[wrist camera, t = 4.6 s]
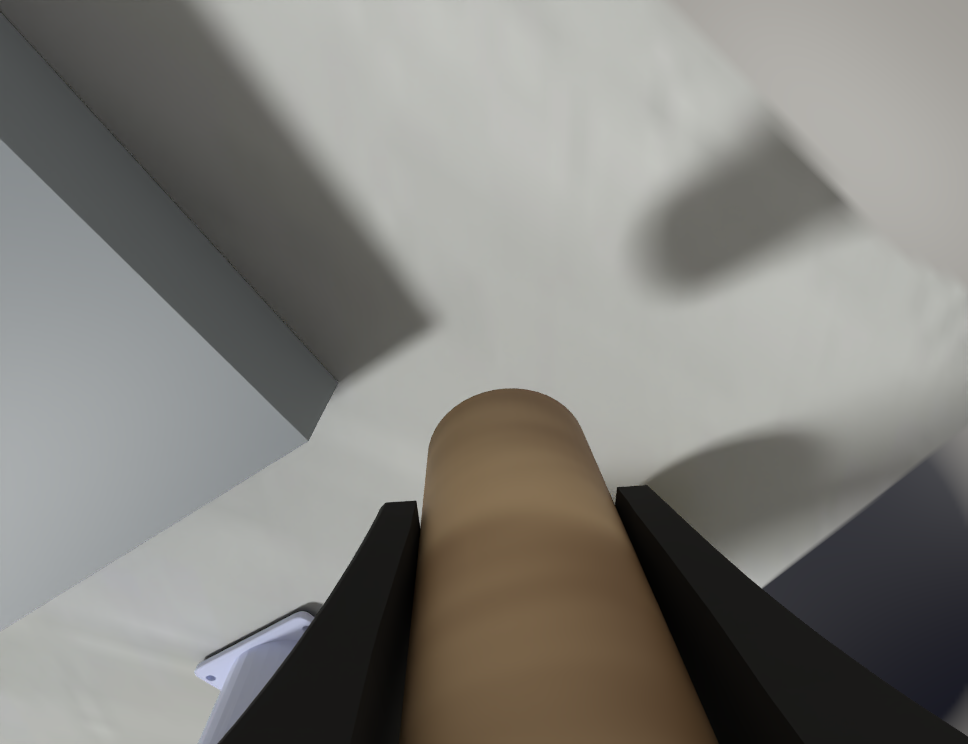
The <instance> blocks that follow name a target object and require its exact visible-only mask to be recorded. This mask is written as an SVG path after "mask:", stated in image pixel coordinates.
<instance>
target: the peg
mask: <svg viewBox="0 0 968 744" xmlns="http://www.w3.org/2000/svg"><path fill="white" fill-rule="evenodd" d="M399 744H719V743H718V741H717V738H716V736H715V734H714V731H713V729H712V727H711V725H710V722H709V720H708V718H707V715H706V713H705V711H704V708H703V706H702V704H701V702H700V699H699V697H698V695H697V692H696V690H695V688H694V686H693V683H692V681H691V679H690V676H689V674H688V672H687V669H686V667H685V665H684V663H683V660H682V658H681V656H680V653H679V651H678V649H677V647H676V644H675V642H674V640H673V637H672V635H671V633H670V631H669V628H668V626H667V624H666V621H665V619H664V617H663V614H662V612H661V610H660V608H659V605H658V603H657V601H656V598H655V596H654V594H653V592H652V589H651V587H650V585H649V582H648V580H647V578H646V575H645V573H644V571H643V569H642V566H641V564H640V562H639V559H638V557H637V555H636V553H635V550H634V548H633V546H632V543H631V541H630V539H629V537H628V534H627V532H626V530H625V527H624V525H623V523H622V520H621V518H620V516H619V514H618V511H617V509H616V507H615V504H614V502H613V500H612V498H611V495H610V493H609V491H608V488H607V486H606V484H605V481H604V479H603V477H602V475H601V472H600V470H599V468H598V465H597V463H596V461H595V459H594V456H593V454H592V452H591V449H590V447H589V445H588V443H587V440H586V438H585V436H584V433H583V431H582V429H581V427H580V425H579V423H578V421H577V420H576V418H575V417H574V416H573V414H572V413H571V412H570V411H569V410H568V409H567V408H566V407H565V406H563V405H562V404H561V403H559V402H558V401H556V400H554V399H553V398H551V397H549V396H547V395H544V394H541V393H539V392H535V391H531V390H525V389H498V390H492V391H488V392H484V393H481V394H478V395H475V396H473V397H471V398H469V399H467V400H465V401H463V402H461V403H460V404H458V405H457V406H455V407H454V408H453V409H452V410H451V411H450V412H448V413H447V414H446V415H445V417H444V418H443V419H442V420H441V421H440V423H439V424H438V426H437V427H436V429H435V431H434V433H433V435H432V437H431V440H430V444H429V449H428V458H427V468H426V478H425V488H424V498H423V508H422V518H421V528H420V538H419V548H418V558H417V568H416V578H415V587H414V597H413V607H412V617H411V627H410V637H409V647H408V657H407V667H406V677H405V687H404V697H403V707H402V717H401V727H400V737H399Z"/></svg>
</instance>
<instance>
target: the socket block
mask: <svg viewBox="0 0 968 744" xmlns="http://www.w3.org/2000/svg"><path fill="white" fill-rule="evenodd" d="M337 384H338V382H337V381H336V380H335V378H334V377H333V376H332V375H331V374H330V373H329V372H328V371H327V370H326V369H325V367H324V366H323V365H322V364H321V363H320V362H319V361H318V360H317V359H316V358H315V356H314V355H313V354H312V353H311V352H310V351H309V350H308V349H307V348H306V347H305V346H304V344H303V343H302V342H301V341H300V340H299V339H298V338H297V337H296V336H295V335H294V333H293V332H292V331H291V330H290V329H289V328H288V327H287V326H286V325H285V324H284V322H283V321H282V320H281V319H280V318H279V317H278V316H277V315H276V314H275V313H274V312H273V310H272V309H271V308H270V307H269V306H268V305H267V304H266V303H265V302H264V301H263V299H262V298H261V297H260V296H259V295H258V294H257V293H256V292H255V291H254V290H253V288H252V287H251V286H250V285H249V284H248V283H247V282H246V281H245V280H244V279H243V278H242V276H241V275H240V274H239V273H238V272H237V271H236V270H235V269H234V268H233V267H232V265H231V264H230V263H229V262H228V261H227V260H226V259H225V258H224V257H223V256H222V254H221V253H220V252H219V251H218V250H217V249H216V248H215V247H214V246H213V245H212V244H211V242H210V241H209V240H208V239H207V238H206V237H205V236H204V235H203V234H202V233H201V231H200V230H199V229H198V228H197V227H196V226H195V225H194V224H193V223H192V222H191V220H190V219H189V218H188V217H187V216H186V215H185V214H184V213H183V212H182V211H181V210H180V208H179V207H178V206H177V205H176V204H175V203H174V202H173V201H172V200H171V199H170V197H169V196H168V195H167V194H166V193H165V192H164V191H163V190H162V189H161V188H160V186H159V185H158V184H157V183H156V182H155V181H154V180H153V179H152V178H151V177H150V176H149V174H148V173H147V172H146V171H145V170H144V169H143V168H142V167H141V166H140V165H139V163H138V162H137V161H136V160H135V159H134V158H133V157H132V156H131V155H130V154H129V152H128V151H127V150H126V149H125V148H124V147H123V146H122V145H121V144H120V143H119V142H118V140H117V139H116V138H115V137H114V136H113V135H112V134H111V133H110V132H109V131H108V129H107V128H106V127H105V126H104V125H103V124H102V123H101V122H100V121H99V120H98V118H97V117H96V116H95V115H94V114H93V113H92V112H91V111H90V110H89V109H88V108H87V106H86V105H85V104H84V103H83V102H82V101H81V100H80V99H79V98H78V97H77V95H76V94H75V93H74V92H73V91H72V90H71V89H70V88H69V87H68V86H67V84H66V83H65V82H64V81H63V80H62V79H61V78H60V77H59V76H58V75H57V74H56V72H55V71H54V70H53V69H52V68H51V67H50V66H49V65H48V64H47V63H46V61H45V60H44V59H43V58H42V57H41V56H40V55H39V54H38V53H37V52H36V50H35V49H34V48H33V47H32V46H31V45H30V44H29V43H28V42H27V41H26V40H25V38H24V37H23V36H22V35H21V34H20V33H19V32H18V31H17V30H16V29H15V27H14V26H13V25H12V24H11V23H10V22H9V21H8V20H7V19H6V18H5V16H4V15H3V14H2V13H1V12H0V631H2V630H4V629H5V628H7V627H8V626H10V625H12V624H13V623H15V622H17V621H18V620H20V619H21V618H23V617H25V616H26V615H28V614H29V613H31V612H33V611H34V610H36V609H38V608H39V607H41V606H42V605H44V604H46V603H47V602H49V601H50V600H52V599H54V598H55V597H57V596H59V595H60V594H62V593H63V592H65V591H67V590H68V589H70V588H72V587H73V586H75V585H76V584H78V583H80V582H81V581H83V580H84V579H86V578H88V577H89V576H91V575H93V574H94V573H96V572H97V571H99V570H101V569H102V568H104V567H105V566H107V565H109V564H110V563H112V562H114V561H115V560H117V559H118V558H120V557H122V556H123V555H125V554H126V553H128V552H130V551H131V550H133V549H135V548H136V547H138V546H139V545H141V544H143V543H144V542H146V541H147V540H149V539H151V538H152V537H154V536H156V535H157V534H159V533H160V532H162V531H164V530H165V529H167V528H168V527H170V526H172V525H173V524H175V523H177V522H178V521H180V520H181V519H183V518H185V517H186V516H188V515H189V514H191V513H193V512H194V511H196V510H198V509H199V508H201V507H202V506H204V505H206V504H207V503H209V502H211V501H212V500H214V499H215V498H217V497H219V496H220V495H222V494H223V493H225V492H227V491H228V490H230V489H232V488H233V487H235V486H236V485H238V484H240V483H241V482H243V481H244V480H246V479H248V478H249V477H251V476H253V475H254V474H256V473H257V472H259V471H261V470H262V469H264V468H265V467H267V466H269V465H270V464H272V463H274V462H275V461H277V460H278V459H280V458H282V457H283V456H285V455H286V454H288V453H290V452H291V451H293V450H295V449H296V448H298V447H299V446H301V445H303V444H304V443H306V442H307V441H309V439H310V437H311V435H312V433H313V431H314V429H315V427H316V425H317V423H318V421H319V419H320V417H321V415H322V413H323V411H324V409H325V407H326V405H327V403H328V401H329V399H330V398H331V396H332V394H333V392H334V390H335V388H336V386H337Z"/></svg>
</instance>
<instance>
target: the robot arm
mask: <svg viewBox="0 0 968 744" xmlns="http://www.w3.org/2000/svg"><path fill="white" fill-rule="evenodd" d="M615 507H616V509H617V511H618V514H619V516H620V518H621V520H622V523H623V525H624V527H625V530H626V532H627V534H628V537H629V539H630V541H631V543H632V546H633V548H634V550H635V553H636V555H637V557H638V559H639V562H640V564H641V566H642V569H643V571H644V573H645V575H646V578H647V580H648V582H649V585H650V587H651V589H652V592H653V594H654V596H655V598H656V601H657V603H658V605H659V608H660V610H661V612H662V614H663V617H664V619H665V621H666V624H667V626H668V628H669V631H670V633H671V635H672V637H673V640H674V642H675V644H676V647H677V649H678V651H679V653H680V656H681V658H682V660H683V663H684V665H685V667H686V669H687V672H688V674H689V676H690V679H691V681H692V683H693V686H694V688H695V690H696V692H697V695H698V697H699V699H700V702H701V704H702V706H703V708H704V711H705V713H706V715H707V718H708V720H709V722H710V725H711V727H712V729H713V731H714V734H715V736H716V738H717V741H718V743H719V744H968V737H967V736H966V735H965V734H963V733H962V732H960V731H958V730H957V729H955V728H954V727H952V726H951V725H949V724H948V723H946V722H945V721H943V720H942V719H940V718H939V717H937V716H936V715H934V714H932V713H931V712H929V711H928V710H926V709H925V708H923V707H922V706H920V705H919V704H917V703H915V702H914V701H912V700H911V699H910V698H908V697H907V696H905V695H904V694H902V693H901V692H899V691H898V690H896V689H895V688H893V687H892V686H890V685H889V684H888V683H886V682H885V681H883V680H882V679H880V678H879V677H877V676H876V675H875V674H873V673H872V672H870V671H869V670H868V669H866V668H865V667H864V666H862V665H861V664H859V663H858V662H856V661H855V660H854V659H852V658H851V657H849V656H848V655H847V654H845V653H844V652H843V651H841V650H840V649H839V648H837V647H836V646H834V645H833V644H831V643H830V642H829V641H828V640H826V639H825V638H823V637H822V636H821V635H819V634H818V633H817V632H815V631H814V630H813V629H812V628H810V627H809V626H808V625H806V624H805V623H804V622H802V621H801V620H800V619H799V618H797V617H796V616H795V615H794V614H792V613H791V612H790V611H788V610H787V609H786V608H785V607H784V606H782V605H781V604H780V603H779V602H777V601H776V600H775V599H774V598H772V597H771V596H770V595H769V594H768V593H766V592H765V591H764V590H763V589H761V588H760V587H759V586H758V585H757V584H755V583H754V582H753V581H752V580H751V579H749V578H748V577H747V576H746V575H745V574H744V573H743V572H741V571H740V570H739V569H738V568H737V567H736V566H735V565H733V564H732V563H731V562H730V561H729V560H728V559H727V558H725V557H724V556H723V555H722V554H721V553H720V552H719V551H717V550H716V549H715V548H714V547H713V546H712V545H711V544H710V543H709V542H708V541H706V540H705V539H704V538H703V537H702V536H701V535H700V534H699V533H698V532H697V531H696V530H694V529H693V528H692V527H691V526H690V525H689V524H688V523H687V522H686V521H685V520H684V519H683V518H682V517H681V516H679V515H678V514H677V513H676V512H675V511H674V510H673V509H672V508H671V507H670V506H669V505H668V504H667V503H666V502H665V501H663V500H662V499H661V498H660V497H659V496H658V495H657V494H656V493H655V492H654V491H653V490H652V489H651V488H649V487H648V486H647V485H644V486H629V487H617V493H616V502H615ZM419 538H420V523H419V516H418V509H417V502H416V501H404V502H389V503H385V504H384V505H383V506H382V507H381V508H380V510H379V512H378V514H377V516H376V518H375V520H374V522H373V524H372V526H371V528H370V529H369V531H368V533H367V535H366V537H365V538H364V540H363V542H362V544H361V545H360V547H359V549H358V551H357V552H356V554H355V556H354V557H353V559H352V561H351V562H350V564H349V566H348V567H347V569H346V570H345V572H344V574H343V575H342V577H341V578H340V580H339V581H338V583H337V585H336V586H335V588H334V589H333V591H332V593H331V594H330V596H329V597H328V599H327V600H326V602H325V603H324V605H323V606H322V608H321V609H320V611H319V612H318V614H317V615H316V616H315V617H314V616H312V615H311V614H310V613H308V612H304V611H300V612H297V613H294V614H293V615H291V616H289V617H287V618H285V619H283V620H281V621H279V622H277V623H275V624H273V625H271V626H270V627H268V628H266V629H264V630H262V631H260V632H258V633H256V634H254V635H252V636H250V637H248V638H247V639H245V640H243V641H241V642H239V643H237V644H235V645H233V646H231V647H229V648H227V649H225V650H223V651H222V652H220V653H218V654H216V655H214V656H212V657H210V658H208V659H206V660H204V661H202V662H200V663H199V664H198V665H197V667H196V669H195V675H196V676H197V677H199V678H201V679H202V680H204V681H206V682H207V683H209V684H211V685H212V686H214V687H216V688H217V689H219V690H221V691H220V694H219V696H218V698H217V700H216V703H215V705H214V707H213V710H212V712H211V714H210V716H209V719H208V721H207V723H206V726H205V728H204V730H203V732H202V735H201V737H200V739H199V742H198V744H399V737H400V727H401V717H402V707H403V697H404V687H405V677H406V667H407V657H408V647H409V637H410V627H411V617H412V607H413V597H414V587H415V578H416V568H417V558H418V548H419Z"/></svg>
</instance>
